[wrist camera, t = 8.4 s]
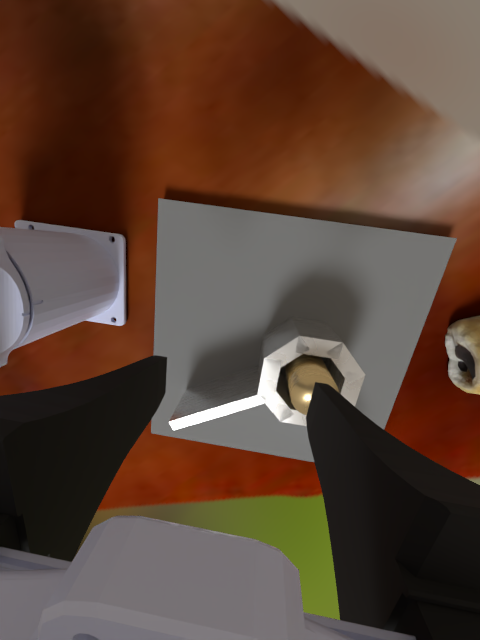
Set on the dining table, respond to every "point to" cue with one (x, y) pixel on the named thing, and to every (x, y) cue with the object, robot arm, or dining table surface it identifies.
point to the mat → (283, 307)
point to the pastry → (464, 354)
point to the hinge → (273, 376)
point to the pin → (306, 379)
